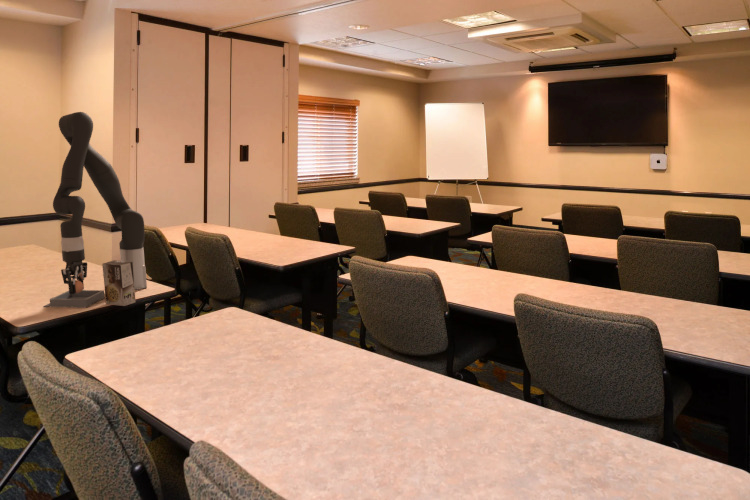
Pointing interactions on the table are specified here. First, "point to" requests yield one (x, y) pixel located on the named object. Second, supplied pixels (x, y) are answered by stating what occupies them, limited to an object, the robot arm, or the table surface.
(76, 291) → the ball
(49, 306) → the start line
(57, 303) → the bin
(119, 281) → the coffee box
